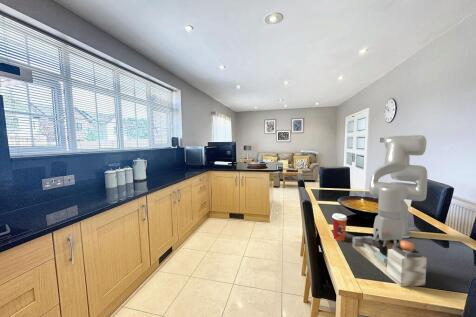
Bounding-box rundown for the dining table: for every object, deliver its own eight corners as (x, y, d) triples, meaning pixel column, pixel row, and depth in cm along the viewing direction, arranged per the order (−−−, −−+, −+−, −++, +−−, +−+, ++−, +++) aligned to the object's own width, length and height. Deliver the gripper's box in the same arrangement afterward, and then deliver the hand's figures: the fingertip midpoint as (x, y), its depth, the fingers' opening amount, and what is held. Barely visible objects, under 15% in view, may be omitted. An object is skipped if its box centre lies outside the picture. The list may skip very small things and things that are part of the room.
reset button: (406, 245, 77) (407, 240, 77) (416, 251, 73) (416, 245, 73) (397, 246, 77) (397, 240, 77) (406, 251, 73) (407, 245, 73)
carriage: (389, 258, 87) (390, 238, 87) (398, 264, 82) (399, 244, 82) (374, 258, 87) (375, 239, 86) (383, 265, 82) (384, 245, 81)
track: (370, 245, 101) (371, 222, 100) (425, 285, 73) (427, 253, 72) (352, 246, 101) (353, 223, 100) (400, 286, 72) (402, 254, 71)
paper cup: (341, 243, 104) (341, 219, 103) (328, 237, 111) (329, 214, 110) (349, 239, 108) (350, 216, 107) (337, 234, 115) (337, 212, 114)
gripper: (398, 210, 87) (396, 248, 89) (364, 211, 86) (363, 249, 88) (414, 216, 80) (412, 257, 81) (377, 218, 79) (375, 259, 80)
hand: (386, 253), depth 84 cm, fingers closed on carriage, 3 cm apart
